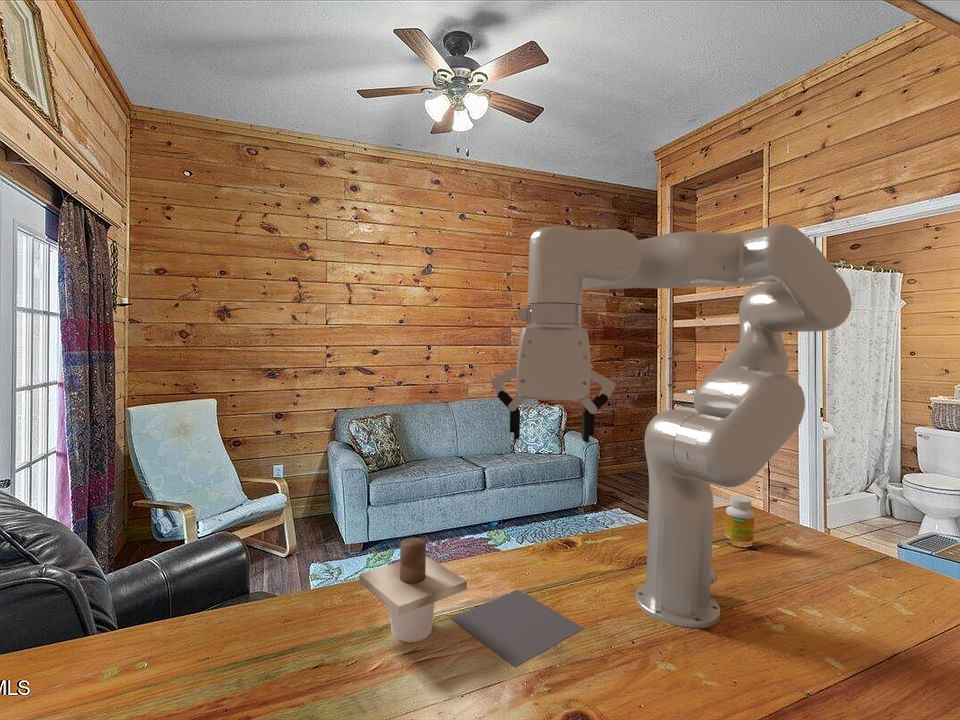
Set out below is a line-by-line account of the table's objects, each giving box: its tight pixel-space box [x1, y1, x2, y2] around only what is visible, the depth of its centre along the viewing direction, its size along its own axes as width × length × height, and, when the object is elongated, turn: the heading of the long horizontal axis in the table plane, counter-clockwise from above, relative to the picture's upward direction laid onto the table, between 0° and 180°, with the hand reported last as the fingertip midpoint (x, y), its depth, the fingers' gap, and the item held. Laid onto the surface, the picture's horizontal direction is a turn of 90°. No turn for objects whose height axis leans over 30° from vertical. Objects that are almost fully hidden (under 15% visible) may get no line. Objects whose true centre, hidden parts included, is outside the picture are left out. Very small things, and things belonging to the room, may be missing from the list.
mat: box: [449, 589, 585, 668], centre depth 73 cm, size 14×14×1 cm
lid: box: [358, 537, 468, 616], centre depth 70 cm, size 11×11×6 cm
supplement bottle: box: [724, 495, 755, 542], centre depth 105 cm, size 5×5×10 cm
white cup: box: [389, 602, 436, 643], centre depth 71 cm, size 7×7×7 cm
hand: (550, 439), depth 70 cm, fingers open, 9 cm apart
